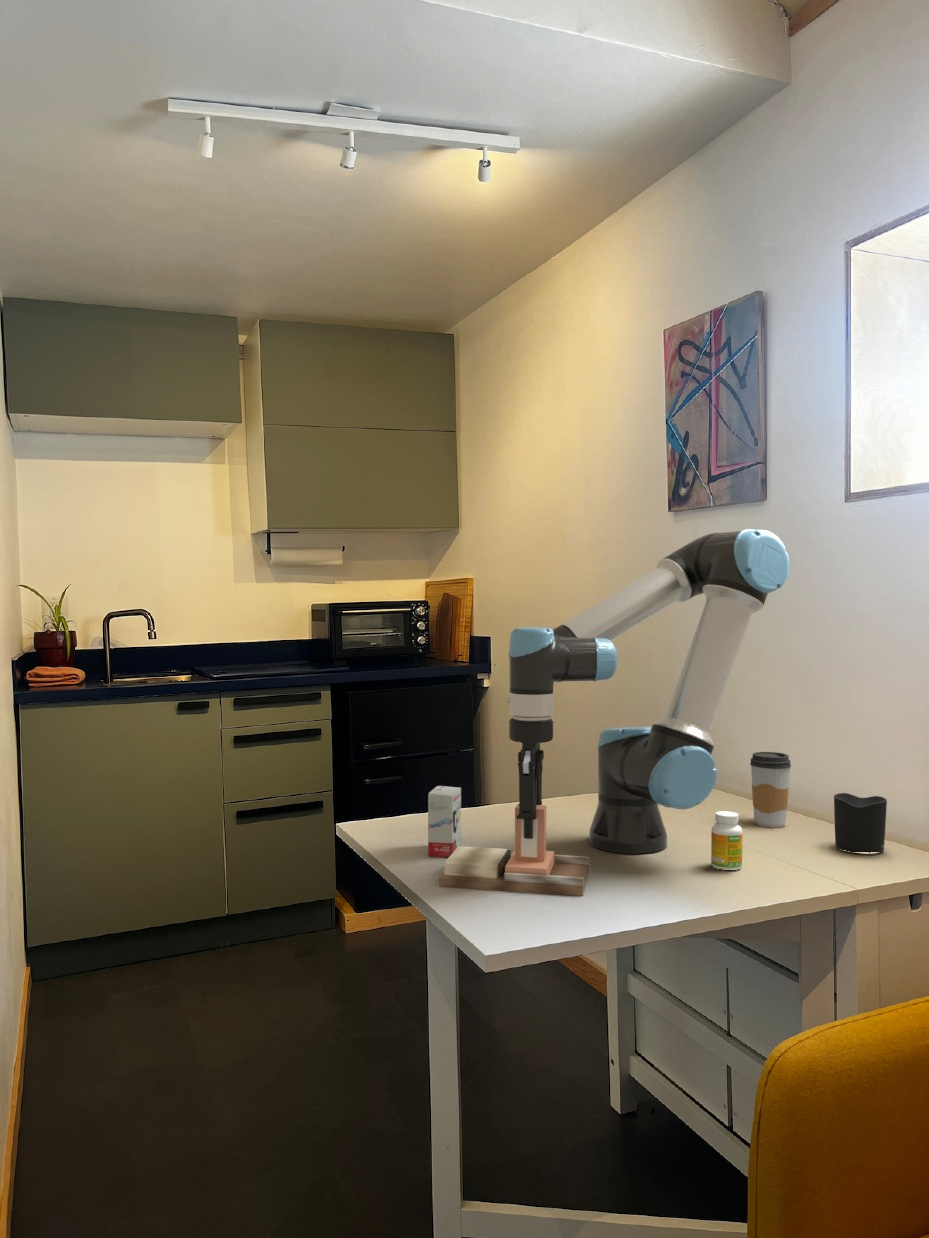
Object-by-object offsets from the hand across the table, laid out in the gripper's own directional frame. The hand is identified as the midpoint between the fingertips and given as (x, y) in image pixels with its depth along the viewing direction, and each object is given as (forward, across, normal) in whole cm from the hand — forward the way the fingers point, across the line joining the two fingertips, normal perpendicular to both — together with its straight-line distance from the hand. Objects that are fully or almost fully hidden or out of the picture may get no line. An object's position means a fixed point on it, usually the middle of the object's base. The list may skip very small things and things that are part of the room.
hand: (530, 853), depth 160 cm
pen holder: (+5, -33, +60) cm, 68 cm away
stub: (+3, 0, 0) cm, 3 cm away
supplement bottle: (+5, -15, +34) cm, 37 cm away
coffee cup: (+5, -50, +45) cm, 67 cm away
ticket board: (+5, 0, -2) cm, 5 cm away
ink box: (+5, -14, -18) cm, 24 cm away
